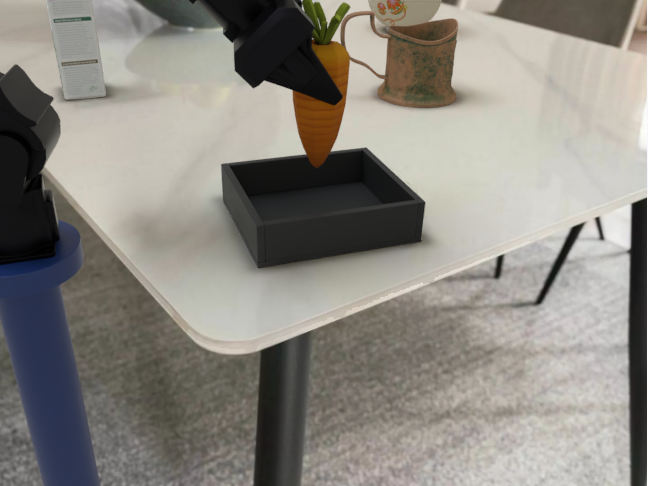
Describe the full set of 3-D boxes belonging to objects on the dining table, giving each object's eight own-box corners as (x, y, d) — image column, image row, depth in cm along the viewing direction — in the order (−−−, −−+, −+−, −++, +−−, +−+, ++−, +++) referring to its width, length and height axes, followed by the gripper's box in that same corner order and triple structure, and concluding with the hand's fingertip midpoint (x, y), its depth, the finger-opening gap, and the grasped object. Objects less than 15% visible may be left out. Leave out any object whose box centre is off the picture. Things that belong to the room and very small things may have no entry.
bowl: (345, 29, 136) (347, -24, 131) (398, 19, 146) (402, -31, 141) (405, 45, 126) (410, -12, 121) (458, 33, 136) (464, -20, 131)
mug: (328, 87, 102) (331, 4, 96) (437, 81, 106) (446, 1, 100) (350, 112, 92) (354, 21, 86) (469, 105, 96) (481, 17, 90)
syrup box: (107, 97, 95) (93, -13, 88) (63, 100, 93) (44, -11, 86) (102, 85, 100) (88, -20, 93) (60, 88, 98) (42, -18, 90)
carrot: (346, 159, 64) (357, -7, 57) (339, 181, 60) (349, 4, 52) (295, 154, 65) (298, -11, 57) (284, 175, 60) (286, -1, 53)
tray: (257, 268, 57) (256, 226, 55) (222, 200, 68) (220, 163, 66) (421, 241, 62) (425, 201, 60) (364, 182, 73) (366, 147, 71)
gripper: (284, -127, 42) (435, 54, 49) (266, -133, 58) (382, 4, 65) (163, 4, 45) (322, 157, 52) (178, -37, 61) (298, 85, 68)
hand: (334, 92), depth 59 cm, fingers closed on carrot, 5 cm apart
